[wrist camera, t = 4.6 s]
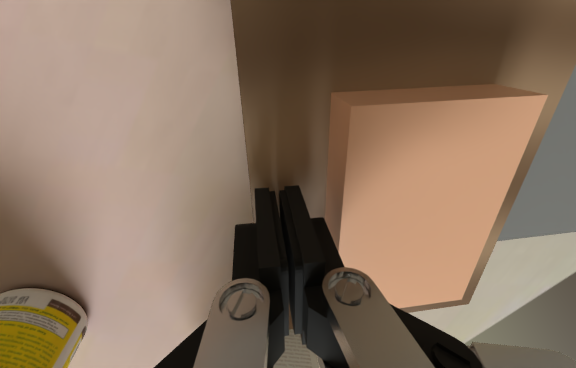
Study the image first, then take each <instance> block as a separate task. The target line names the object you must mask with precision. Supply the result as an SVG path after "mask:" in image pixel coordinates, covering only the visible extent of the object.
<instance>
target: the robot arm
mask: <svg viewBox="0 0 576 368" xmlns="http://www.w3.org/2000/svg"><path fill="white" fill-rule="evenodd" d="M254 192H255V210H256V223H250V224H239V225H235V239H234V257H233V275H232V281H231V282H229V283H227V284H226V285H224V286H223V287H222V288H221V289H220V290H219V291H218V292H217V294H216V296H215V298H214V300H213V303H212V306H211V310H210V313H209V316H208V319H207V320H206V321H205V322H204V323H203V324H202V325H201V326H199V327H198V328H197V329H196V330H195V331H194V332H193V333H192V334H191V335H189V336H188V337H187V338H186V339H185V340H184V341H183V342H182V343H181V344H180V345H178V346H177V347H176V348H175V349H174V350H173V351H172V352H171V353H170V354H168V355H167V356H166V357H165V358H164V359H163V360H162V361H161V362H160V363H158V364H157V365H156V366H155V367H154V368H274V365H275V363H276V362H277V361H278V359H279V358H280V357H281V355H282V354H283V353H284V351H285V336H289V306H290V312H291V318H292V324H293V331H294V335H296V334H300V335H301V340H302V345H306V347H307V348H308V349H309V350H310V351H312V352H313V353H315V354H316V355H317V358H318V363H319V366H320V368H576V361H575V360H574V359H572V358H570V357H568V356H566V355H564V354H562V353H560V352H557V351H553V350H549V349H539V348H529V347H519V346H507V345H498V344H488V343H478V342H472V344H471V346H466V345H465V344H464V343H462V342H461V341H459V340H457V339H456V338H454V337H452V336H451V335H449V334H447V333H445V332H443V331H441V330H439V329H437V328H435V327H433V326H431V325H430V324H428V323H426V322H424V321H422V320H420V319H418V318H416V317H414V316H412V315H410V314H409V313H407V312H405V311H403V310H401V309H399V308H397V307H395V306H393V305H391V304H389V302H388V301H387V300H386V298H385V297H384V295H383V294H382V293H381V291H380V290H379V288H378V287H377V286H376V284H375V283H374V281H373V280H372V279H371V278H370V277H369V276H368V275H366V274H365V273H363V272H362V271H359V270H357V269H354V268H347V267H344V264H343V262H342V260H341V257H340V255H339V252H338V250H337V248H336V245H335V243H334V241H333V238H332V236H331V233H330V231H329V229H328V226H327V224H326V222H325V220H324V218H323V217H318V218H310V215H309V212H308V209H307V207H306V204H305V201H304V198H303V195H302V192H301V189H300V186H299V185H295V186H284V190H279V211H280V217H279V211H278V206H277V200H276V195H275V191H269V187H268V188H254Z"/></svg>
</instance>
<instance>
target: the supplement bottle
mask: <svg viewBox="0 0 576 368" xmlns="http://www.w3.org/2000/svg"><path fill="white" fill-rule="evenodd" d="M87 326H88V320H87V316H86V313H85V312H84V310H83V309H82V307H81V306H80V305H79V304H78V303H76V302H75V301H74V300H72V299H71V298H69V297H67V296H65V295H63V294H60V293H57V292H54V291H50V290H45V289H37V288H23V289H15V290H11V291H7V292H4V293H1V294H0V368H67V367H68V365H69V364H70V362H71V360H72V358H73V356H74V354H75V352H76V350H77V348H78V346H79V344H80V342H81V341H82V339H83V337H84V335H85V333H86V330H87Z"/></svg>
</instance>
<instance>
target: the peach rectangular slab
mask: <svg viewBox="0 0 576 368" xmlns="http://www.w3.org/2000/svg"><path fill="white" fill-rule="evenodd" d="M547 97H548V95H546V94H541V93H537V92H532V91H527V90H522V89H517V88H512V87H507V86H502V85H497V84H484V85H465V86H446V87H427V88H408V89H389V90H370V91H350V92H331V107H330V127H329V147H328V167H327V187H326V207H325V222H326V224H327V226H328V229H329V231H330V233H331V236H332V238H333V241H334V243H335V245H336V248H337V250H338V252H339V255H340V257H341V260H342V262H343V264H344V267H347V268H354V269H357V270H359V271H362V272H363V273H365V274H366V275H368V276H369V277H370V278H371V279H372V280H373V281H374V283H375V284H376V286H377V287H378V288H379V290H380V291H381V293H382V294H383V295H384V297H385V298H386V300H387V301H388V302H389V304H391V305H393V306H395V307H397V308H405V307H412V306H420V305H427V304H434V303H441V302H448V301H455V300H462V298H463V295H464V293H465V290H466V288H467V286H468V283H469V281H470V279H471V276H472V274H473V272H474V269H475V267H476V265H477V262H478V260H479V257H480V255H481V253H482V250H483V248H484V246H485V243H486V241H487V239H488V236H489V234H490V231H491V229H492V227H493V224H494V222H495V220H496V217H497V215H498V213H499V210H500V208H501V205H502V203H503V201H504V198H505V196H506V194H507V191H508V189H509V187H510V184H511V182H512V179H513V177H514V175H515V172H516V170H517V168H518V165H519V163H520V161H521V158H522V156H523V154H524V151H525V149H526V146H527V144H528V142H529V139H530V137H531V135H532V132H533V130H534V128H535V125H536V123H537V120H538V118H539V116H540V113H541V111H542V109H543V106H544V104H545V102H546V99H547Z"/></svg>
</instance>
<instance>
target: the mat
mask: <svg viewBox="0 0 576 368" xmlns="http://www.w3.org/2000/svg"><path fill="white" fill-rule="evenodd" d="M569 232H576V65H575V67H574V70H573V72H572V74H571V76H570V79H569V81H568V83H567V85H566V88H565V90H564V92H563V94H562V97H561V99H560V101H559V103H558V105H557V108H556V110H555V112H554V114H553V117H552V119H551V121H550V123H549V126H548V128H547V130H546V132H545V135H544V137H543V139H542V141H541V143H540V146H539V148H538V150H537V152H536V155H535V157H534V159H533V161H532V164H531V166H530V168H529V170H528V173H527V175H526V177H525V179H524V181H523V184H522V186H521V188H520V190H519V193H518V195H517V197H516V199H515V202H514V204H513V206H512V208H511V211H510V213H509V215H508V217H507V219H506V222H505V224H504V226H503V228H502V231H501V233H500V235H499V237H498V240H497V241H502V240H510V239H519V238H527V237H535V236H544V235H552V234H561V233H569Z"/></svg>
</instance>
